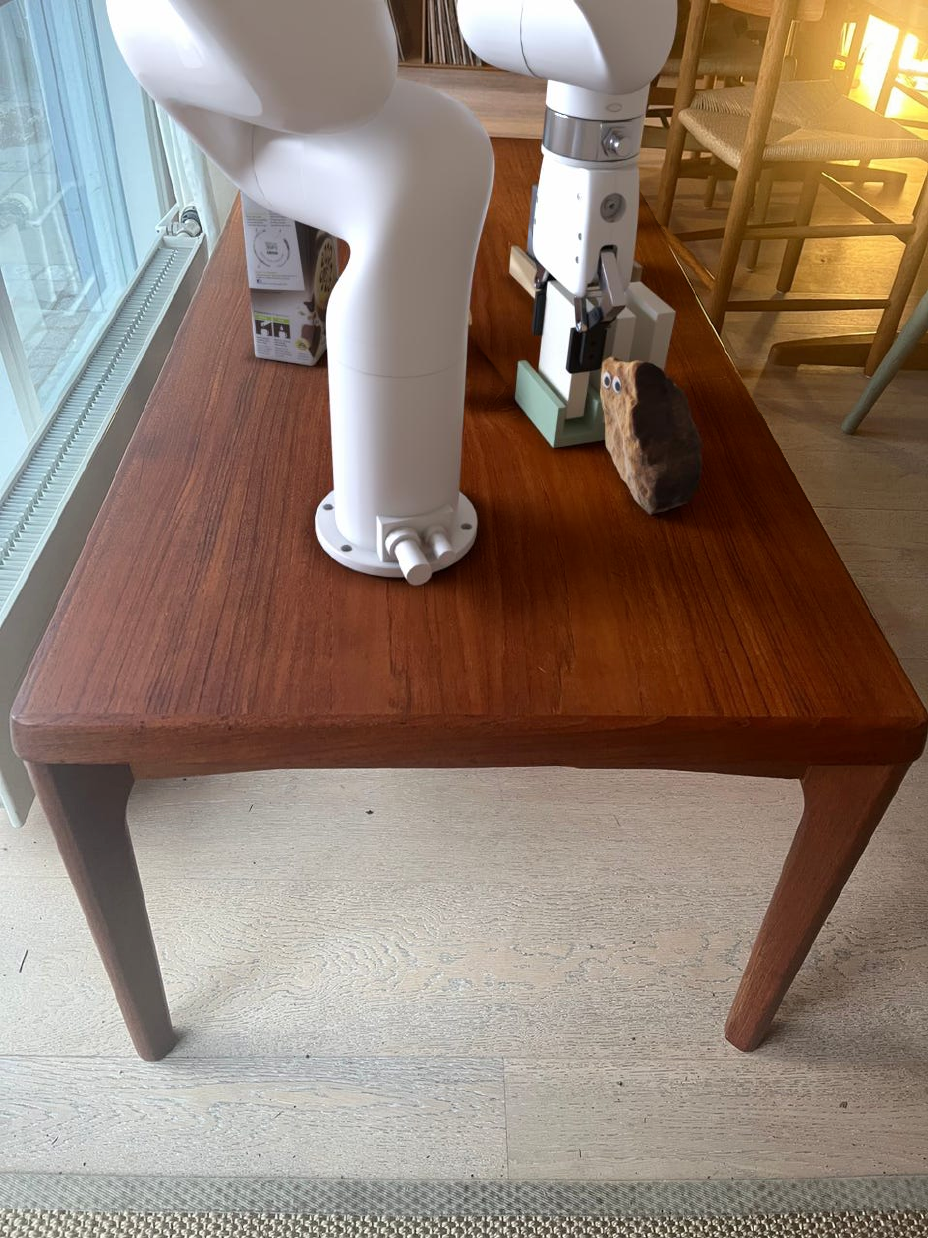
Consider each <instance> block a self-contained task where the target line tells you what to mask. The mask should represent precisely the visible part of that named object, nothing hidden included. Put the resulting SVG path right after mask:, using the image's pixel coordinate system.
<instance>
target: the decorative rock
mask: <svg viewBox="0 0 928 1238" xmlns="http://www.w3.org/2000/svg"><path fill="white" fill-rule="evenodd" d="M674 384H675V382H674V379H673V378H672V377H671V376H669V375H666V373H665V370H664V371H663V370H662V369H661V368H659V367H657V366H656V365H654V364H653V363H648V362H644V361H639V360H637V361H633V362H629V363H628V362H626V361H622V360H619V359H617V358H616V357H609V358H608V359H606V360H605V361H604V362H603V364H602V372H601V390H600V395H601V401H602V406H603V410H604V414H605V423H606V427H605V440H604V441H605V447H606V449H607V451H608V452H609V454H610V456H611V460H612V462H613V465H614V466H615V468H616V471H617V472H618V474H619V476H620V479H622V481H624V483H625V484H626V486H627V487H628V489H629V490H630V494H631V495H632V497H633V499H634V501H635V502H636V503H637V504H638V505H639V506H640V507H641V508H642V509H643V510H644V511H645V512H646V513H647V514H648V515H654V514H658V513H663V512H666V511H668V510H670V509H675V508H676V507H680V506H683V505H684V504H685V505H687V504H688V503H689V502H691V500H692V499H693V498H694V495H693V494H694V493H695V492H696V491H697V490H699V483H700V480H701V476H702V469H703V457H702V449H703V440H702V437H701V435H700V434H699V430H698V427H697V426H696V424H695V423H696V422H695V421H694V420H693V417H692V412H691V409H690V405H689V399H688V397H687V396H686V394H685V391H684V390H683V389H682V388H681V387H679V386H678V385H676V384H675V385H674Z"/></svg>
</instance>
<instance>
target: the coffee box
mask: <svg viewBox="0 0 928 1238" xmlns="http://www.w3.org/2000/svg"><path fill="white" fill-rule="evenodd" d="M239 193H240V202H241V203H240V204H241V214H242V225H243V238H244V246H245V247H244V248H245V258H246V268H247V280H248V289H249V290H248V291H249V298H250V309H251V310H250V311H251V320H252V321H251V322H252V332H253V342H254V355H255V357H256V358H258V359H259V358H260V359H265V360H272V361H277V362H278V361H280V362H285V363H290V364H297V365H302V366H303V365H304V366H310V367H313V366H316V364H317V362H318V361H319V359H320V358H321V356H322V355H323V354H324V353H325V351H326V350H327V339H326V313H327V306H328V302H329V298H330V295H331V293H332V290H333V289H334V287H335V285H336V283H337V282H338V280H339V278H340V275H339V274H340V273H339V256H338V255H339V253H338V252H339V251H338V237H336V236H333V235H331V234H329V233H328V232H326V231H323V230H320V229H318V228H315V227H312V226H309V225H307V224H304V223H301V222H298V221H296V220H293V219H290V218H287V217H284V216H282V215H280V214H277V213H275V212H273V211H270V210H268V209H266V208H264V207H263V206H261V205H259V204H258V203H256V202H255V201H254V200H252V199H251V198H250V197H248V196H247V195H246V194H245V193H243V192H242V191H241V190H240V189H239Z"/></svg>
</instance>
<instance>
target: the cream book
mask: <svg viewBox="0 0 928 1238" xmlns="http://www.w3.org/2000/svg"><path fill="white" fill-rule="evenodd" d="M586 305H587V314H588V313H589V312H590V311H591V310H592V309H593V308H594V307H595V306H594V305H592V304H591V303H590V302H589V301H588V300H587V299H586ZM572 327H576V322H575V307H574V294H572V293H571V292H570V291H569V290H567V289H566V288H565V287H564V286H563V285H562V284H561V283H560V282H559V281H558V280H554V281H548V285H547V295H546V304H545V314H544V323H543V332H542V335H541V342H540V352H539V360H538V370H537V374H538V375H539V376H540V377H541V378H542V379H543V381H544V382H545V383H546V384H547V385H548V386H549V388H550V389H551V390H552V391H553V392H554V393H555V395H556V396H557V397H558V398H559V399H560V400H561V402H562V403H563V404H564V405H565V406H566V414H565V419H569V418H575V417H581V416H583V415H584V408H585V401H586V395H587V388H588V381H589V374H590V371H588V372H581V373H575V374H570V373H569V372H568V371H567V370H566V361H567V353H568V345H569V337H570V329H571V328H572Z"/></svg>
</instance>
